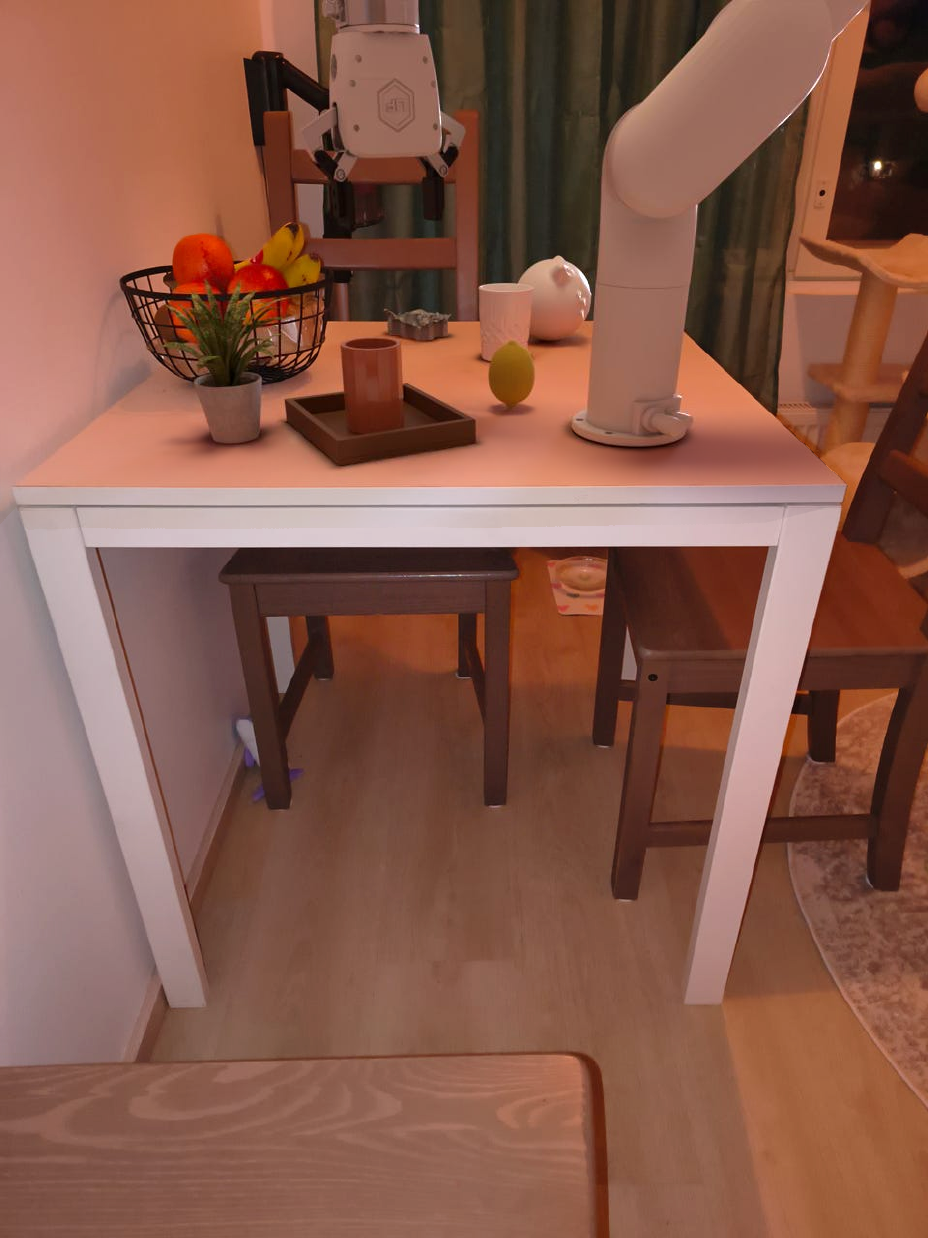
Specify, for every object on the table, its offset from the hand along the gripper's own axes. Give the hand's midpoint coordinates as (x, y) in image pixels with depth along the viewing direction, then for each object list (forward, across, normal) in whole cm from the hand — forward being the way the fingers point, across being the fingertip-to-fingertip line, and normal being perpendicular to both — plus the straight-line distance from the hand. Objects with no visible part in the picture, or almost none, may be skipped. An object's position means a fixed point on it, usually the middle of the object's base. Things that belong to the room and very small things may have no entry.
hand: (391, 222), depth 84 cm
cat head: (+22, +41, +31) cm, 56 cm away
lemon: (+22, +14, 0) cm, 26 cm away
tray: (+21, -4, -1) cm, 21 cm away
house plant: (+21, -18, +4) cm, 28 cm away
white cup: (+22, +28, +24) cm, 42 cm away
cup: (+20, -4, -1) cm, 21 cm away
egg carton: (+21, +24, +46) cm, 56 cm away
